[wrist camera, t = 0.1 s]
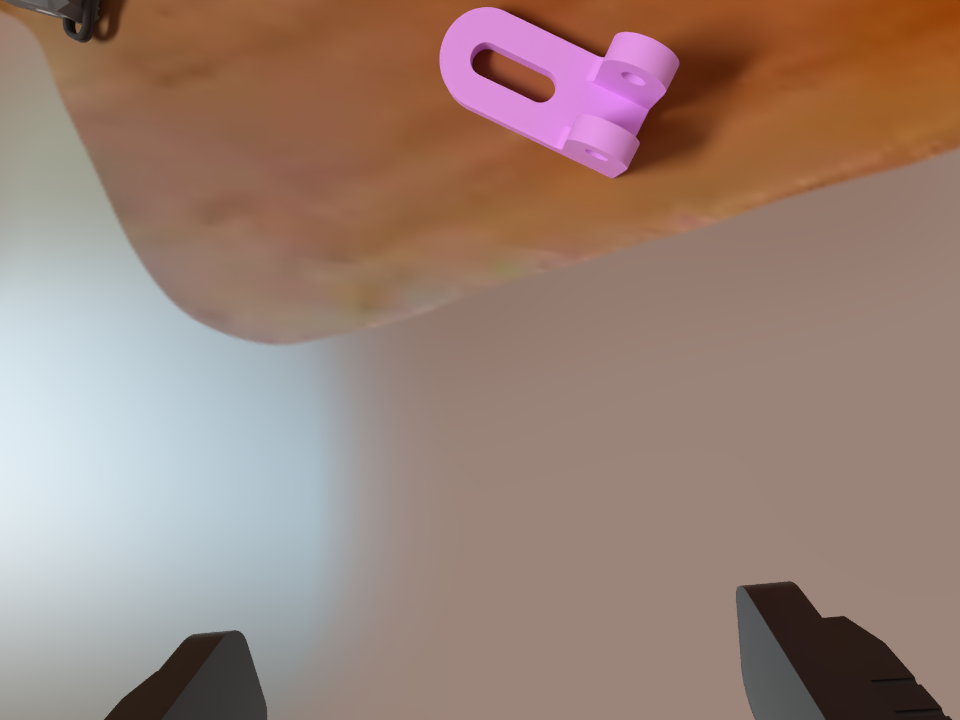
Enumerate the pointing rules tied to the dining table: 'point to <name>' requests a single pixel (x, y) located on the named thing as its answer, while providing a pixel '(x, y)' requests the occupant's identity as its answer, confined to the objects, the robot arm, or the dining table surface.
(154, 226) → the dining table surface
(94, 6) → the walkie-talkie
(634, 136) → the bracket
